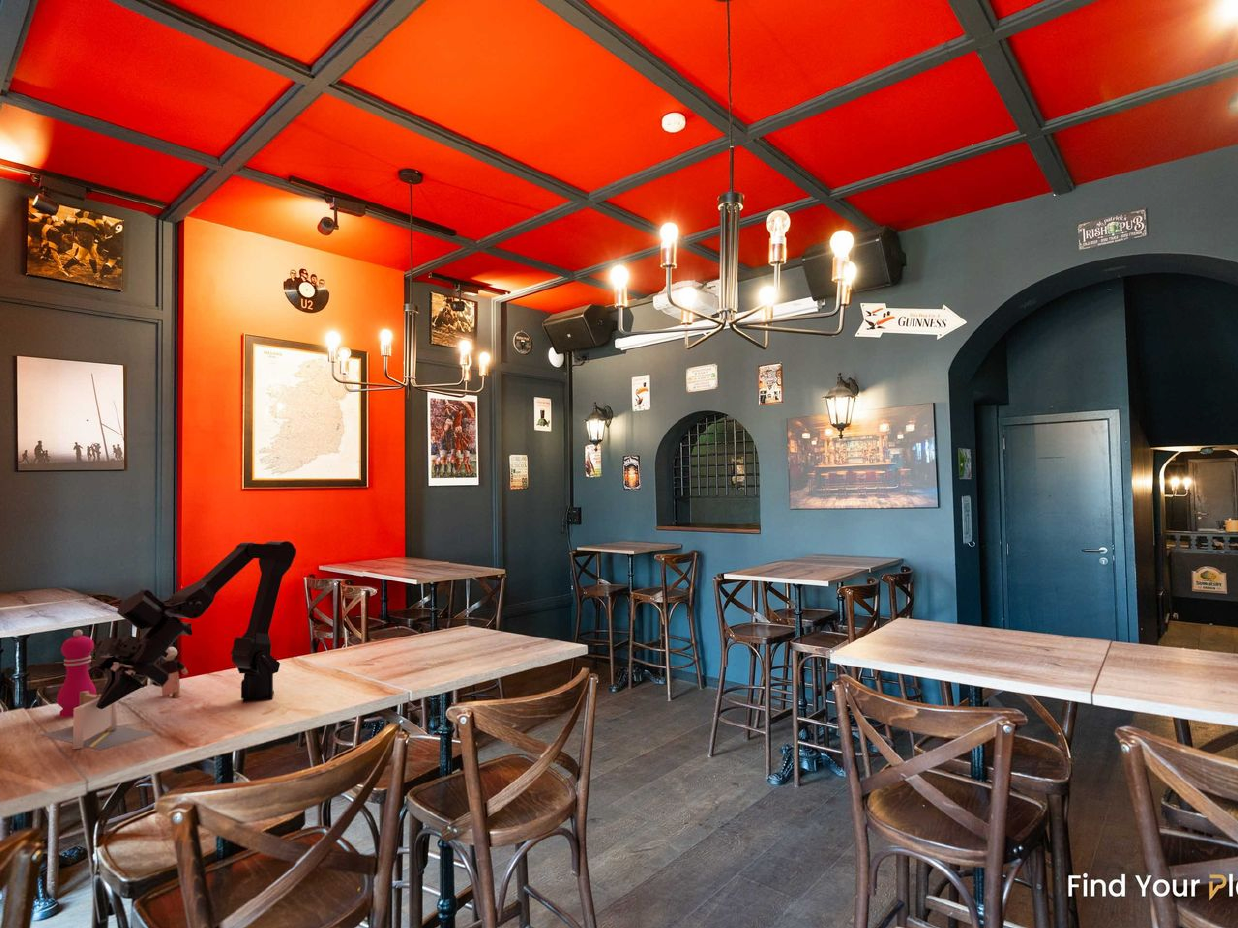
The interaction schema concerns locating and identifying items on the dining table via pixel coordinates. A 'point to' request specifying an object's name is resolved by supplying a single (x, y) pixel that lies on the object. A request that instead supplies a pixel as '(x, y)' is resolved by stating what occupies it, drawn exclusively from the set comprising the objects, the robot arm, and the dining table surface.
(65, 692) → the pepper mill
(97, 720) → the fence gate
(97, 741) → the board
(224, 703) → the dining table surface
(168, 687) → the grandmother figurine
